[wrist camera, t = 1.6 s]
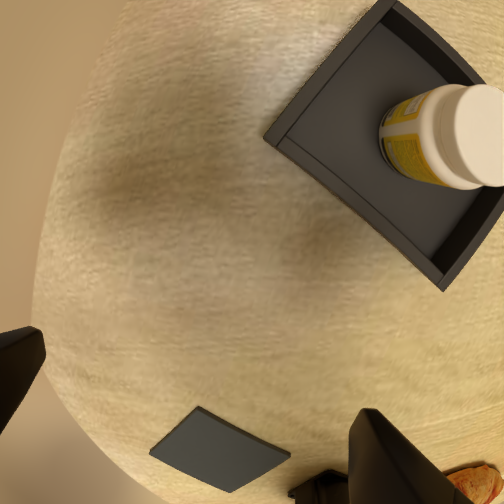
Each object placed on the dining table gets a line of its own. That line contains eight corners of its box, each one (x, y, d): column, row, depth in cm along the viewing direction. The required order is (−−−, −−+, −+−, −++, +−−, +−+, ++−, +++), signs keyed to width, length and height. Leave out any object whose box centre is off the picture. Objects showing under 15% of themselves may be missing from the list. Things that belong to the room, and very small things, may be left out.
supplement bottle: (440, 185, 17) (526, 209, 9) (372, 171, 18) (439, 185, 9) (447, 112, 16) (534, 98, 8) (380, 93, 16) (447, 56, 8)
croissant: (501, 451, 30) (535, 464, 22) (475, 505, 28) (504, 523, 20) (401, 458, 29) (436, 484, 21) (370, 521, 27) (396, 554, 19)
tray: (510, 151, 16) (537, 153, 13) (424, 275, 20) (443, 293, 17) (372, 11, 15) (386, -9, 12) (264, 140, 18) (262, 137, 15)
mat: (290, 453, 25) (290, 457, 25) (230, 490, 28) (229, 493, 28) (198, 405, 24) (196, 409, 24) (149, 450, 27) (148, 454, 27)
